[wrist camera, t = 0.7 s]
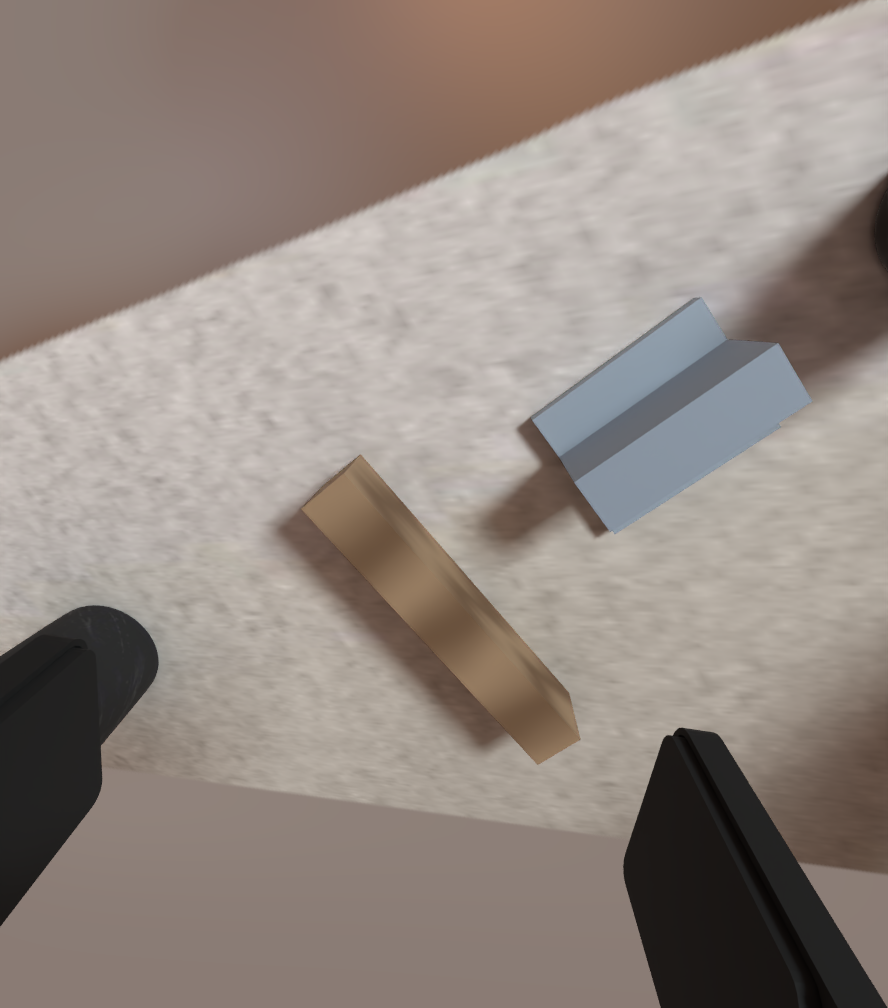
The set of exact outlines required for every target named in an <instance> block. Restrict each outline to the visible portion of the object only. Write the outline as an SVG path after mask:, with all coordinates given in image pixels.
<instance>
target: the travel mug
mask: <svg viewBox="0 0 888 1008" xmlns="http://www.w3.org/2000/svg"><path fill="white" fill-rule="evenodd" d="M42 634H52V635H58V636H65V637H72V638H79V639H82V640H84V641H85V642H86V644H87V647H88V649H89V650H92V651H94V653H95V655H96V666H97V686H98V706H99V726H100V746H101V745H102V744H103V742H104V741H105V740H106V739H107V738H108V736H109V735H110V734H111V733H112V732H113V730H114V729H115V728H116V727H117V726H118V724H119V723H120V722H121V721H122V720H123V718H124V717H125V716H126V715H127V714H128V712H129V711H130V710H131V709H132V708H133V706H134V705H135V704H136V703H137V702H138V700H139V699H140V698H141V697H142V695H143V694H144V693H145V692H146V691H147V689H148V688H149V686H150V685H151V684H152V682H153V680H154V678H155V676H156V673H157V670H158V654H157V650H156V647H155V644H154V642H153V640H152V638H151V637H150V635H149V634H148V632H147V631H146V630H145V629H144V628H143V627H142V626H141V625H140V624H139V623H138V622H137V621H136V620H135V619H133V618H132V617H130V616H129V615H127V614H125V613H123V612H121V611H119V610H116V609H113V608H110V607H105V606H85V607H80V608H77V609H75V610H72V611H70V612H69V613H67V614H65V615H63V616H62V617H60V618H59V619H57V620H55V621H54V622H52V623H51V624H49V625H48V626H46V627H44V628H43V629H41V630H40V631H38V632H37V633H35V634H34V635H32V636H31V637H29V638H28V639H26V640H25V641H23V642H21V643H20V644H18V645H17V646H15V647H14V648H12V649H11V650H9V651H8V652H6V653H5V654H3V655H2V656H0V664H1V663H2V662H4V661H5V660H6V659H8V658H9V657H11V656H12V655H13V654H15V653H16V652H17V651H19V650H20V649H21V648H23V647H24V646H26V645H27V644H28V643H30V642H31V641H32V640H34V639H35V638H37V637H38V636H40V635H42Z"/></svg>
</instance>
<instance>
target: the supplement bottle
mask: <svg viewBox="0 0 888 1008" xmlns="http://www.w3.org/2000/svg"><path fill="white" fill-rule="evenodd" d="M875 244H876V249H877V252H878V255H879V258H880V260H881V262H882V264H883V265H884V267H885V269H886V270H887V271H888V189H887V190H886V192H885V194H884V196H883V198H882V201H881V203H880V206H879V209H878V213H877V217H876V223H875Z"/></svg>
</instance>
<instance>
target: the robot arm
mask: <svg viewBox="0 0 888 1008" xmlns="http://www.w3.org/2000/svg"><path fill="white" fill-rule="evenodd" d="M101 785H102V765H101V746H100V726H99V706H98V686H97V666H96V655H95V653H94V651H92V650H89V649H88V647H87V644H86V642H85V641H84V640H82V639H79V638H72V637H65V636H58V635H52V634H42V635H40V636H38V637H37V638H35V639H34V640H32V641H31V642H30V643H28V644H27V645H26V646H24V647H23V648H21V649H20V650H19V651H17V652H16V653H15V654H13V655H12V656H11V657H9V658H8V659H6V660H5V661H4V662H2V663H1V664H0V926H1V925H2V924H3V922H4V921H5V920H6V918H7V917H8V916H9V914H10V913H11V912H12V910H13V909H14V908H15V907H16V905H17V904H18V903H19V901H20V900H21V899H22V897H23V896H24V895H25V893H26V892H27V891H28V890H29V888H30V887H31V886H32V884H33V883H34V882H35V880H36V879H37V878H38V877H39V875H40V874H41V873H42V871H43V870H44V869H45V868H46V866H47V865H48V864H49V862H50V861H51V860H52V858H53V857H54V856H55V855H56V853H57V852H58V850H59V849H60V848H61V847H62V845H63V844H64V843H65V842H66V840H67V839H68V837H69V836H70V835H71V834H72V832H73V831H74V830H75V828H76V827H77V826H78V824H79V823H80V822H81V821H82V819H83V818H84V817H85V815H86V814H87V813H88V812H89V810H90V809H91V808H92V806H93V805H94V803H95V802H96V800H97V798H98V795H99V793H100V790H101ZM623 868H624V879H625V884H626V888H627V891H628V895H629V898H630V902H631V905H632V908H633V912H634V916H635V919H636V923H637V926H638V930H639V933H640V937H641V940H642V944H643V947H644V951H645V954H646V958H647V961H648V965H649V968H650V971H651V975H652V978H653V982H654V985H655V989H656V992H657V996H658V999H659V1003H660V1006H661V1008H887V1006H886V1005H885V1003H884V1002H883V1000H882V998H881V997H880V995H879V993H878V992H877V990H876V988H875V987H874V985H873V984H872V982H871V980H870V979H869V977H868V976H867V974H866V972H865V971H864V969H863V968H862V966H861V964H860V963H859V961H858V959H857V958H856V956H855V954H854V953H853V951H852V950H851V948H850V946H849V945H848V944H847V941H846V940H845V938H844V937H843V935H842V933H841V932H840V930H839V928H838V927H837V925H836V924H835V923H834V920H833V919H832V917H831V916H830V914H829V912H828V911H827V909H826V907H825V906H824V904H823V903H822V901H821V900H820V898H819V896H818V894H817V893H816V891H815V890H814V888H813V886H812V885H811V883H810V882H809V880H808V878H807V877H806V875H805V873H804V872H803V870H802V869H801V867H800V865H799V864H798V862H797V860H796V859H795V857H794V856H793V854H792V852H791V851H790V849H789V847H788V846H787V844H786V843H785V841H784V839H783V838H782V836H781V834H780V833H779V831H778V830H777V828H776V826H775V825H774V823H773V822H772V820H771V818H770V817H769V815H768V813H767V812H766V810H765V809H764V807H763V805H762V804H761V802H760V800H759V799H758V797H757V796H756V794H755V792H754V791H753V789H752V787H751V786H750V784H749V783H748V781H747V779H746V778H745V776H744V775H743V773H742V771H741V770H740V768H739V766H738V765H737V763H736V762H735V760H734V758H733V757H732V755H731V753H730V752H729V750H728V749H727V747H726V745H725V744H724V742H723V740H722V739H721V738H720V737H719V735H718V734H716V733H714V732H707V731H700V730H693V729H687V728H678V729H677V730H676V731H675V733H674V735H673V736H670V735H668V736H666V737H665V738H664V739H663V741H662V744H661V747H660V750H659V753H658V756H657V759H656V762H655V765H654V768H653V771H652V774H651V778H650V781H649V784H648V787H647V790H646V793H645V796H644V799H643V802H642V805H641V808H640V811H639V814H638V817H637V820H636V823H635V826H634V829H633V832H632V835H631V838H630V841H629V844H628V847H627V850H626V854H625V857H624V866H623Z"/></svg>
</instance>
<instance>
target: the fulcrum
mask: <svg viewBox="0 0 888 1008" xmlns="http://www.w3.org/2000/svg"><path fill="white" fill-rule="evenodd" d="M811 402H812V399H811V398H810V396H809V394H808V393H807V391H806V389H805V388H804V386H803V384H802V383H801V381H800V379H799V377H798V376H797V374H796V372H795V371H794V369H793V367H792V366H791V364H790V362H789V360H788V359H787V357H786V355H785V354H784V352H783V350H782V349H781V347H780V345H779V343H771V342H757V341H742V340H728V339H727V338H726V336H725V335H724V333H723V332H722V330H721V328H720V327H719V325H718V323H717V322H716V320H715V318H714V317H713V315H712V314H711V312H710V310H709V309H708V307H707V305H706V304H705V302H704V300H703V299H702V297H699V298H693V299H692V300H691V301H689V302H688V303H687V304H685V305H684V306H683V307H681V308H680V309H678V310H677V311H676V312H674V313H673V314H672V315H670V316H669V317H667V318H666V319H665V320H663V321H662V322H661V323H659V324H658V325H656V326H655V327H654V328H652V329H651V330H650V331H648V332H647V333H646V334H644V335H643V336H641V337H640V338H639V339H637V340H636V341H635V342H633V343H632V344H630V345H629V346H628V347H626V348H625V349H624V350H622V351H621V352H619V353H618V354H617V355H615V356H614V357H613V358H611V359H610V360H609V361H607V362H606V363H604V364H603V365H602V366H600V367H599V368H598V369H596V370H595V371H593V372H592V373H591V374H589V375H588V376H587V377H585V378H584V379H583V380H581V381H580V382H578V383H577V384H576V385H574V386H573V387H572V388H570V389H569V390H567V391H566V392H565V393H563V394H562V395H561V396H559V397H558V398H556V399H555V400H554V401H552V402H551V403H550V404H548V405H547V406H546V407H544V408H543V409H541V410H540V411H539V412H537V413H536V414H535V415H533V416H532V417H531V419H532V421H533V422H534V424H535V425H536V426H537V428H538V429H539V430H540V432H541V433H542V435H543V436H544V437H545V439H546V440H547V441H548V443H549V444H550V446H551V447H552V448H553V450H554V451H555V452H556V454H557V455H558V457H559V458H560V460H561V461H562V463H563V465H564V466H565V468H566V470H567V471H568V473H569V475H570V476H571V478H572V480H573V481H574V483H575V484H576V486H577V487H578V488H579V490H580V491H581V493H582V494H583V495H584V497H585V498H586V499H587V501H588V502H589V504H590V505H591V506H592V508H593V509H594V511H595V512H596V513H597V515H598V516H599V517H600V519H601V520H602V522H603V523H604V524H605V526H606V527H607V528H608V530H609V531H610V532H611V531H613V532H614V534H616V533H618V532H619V531H621V530H622V529H624V528H625V527H627V526H628V525H630V524H632V523H633V522H635V521H636V520H638V519H639V518H641V517H642V516H644V515H645V514H647V513H649V512H650V511H652V510H653V509H655V508H656V507H658V506H659V505H661V504H663V503H664V502H666V501H667V500H669V499H670V498H672V497H673V496H675V495H676V494H678V493H680V492H681V491H683V490H684V489H686V488H687V487H689V486H690V485H692V484H694V483H695V482H697V481H698V480H700V479H701V478H703V477H704V476H706V475H708V474H709V473H711V472H712V471H714V470H715V469H717V468H718V467H720V466H721V465H723V464H725V463H726V462H728V461H729V460H731V459H732V458H734V457H735V456H737V455H739V454H740V453H742V452H743V451H745V450H746V449H748V448H749V447H751V446H752V445H754V444H756V443H757V442H759V441H760V440H762V439H763V438H765V437H766V436H768V435H770V434H771V433H773V432H774V431H776V430H777V429H779V428H780V427H781V426H780V425H779V423H780V422H781V421H783V420H784V419H786V418H787V417H789V416H790V415H792V414H794V413H795V412H797V411H798V410H800V409H801V408H803V407H804V406H806V405H807V404H809V403H811Z"/></svg>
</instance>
